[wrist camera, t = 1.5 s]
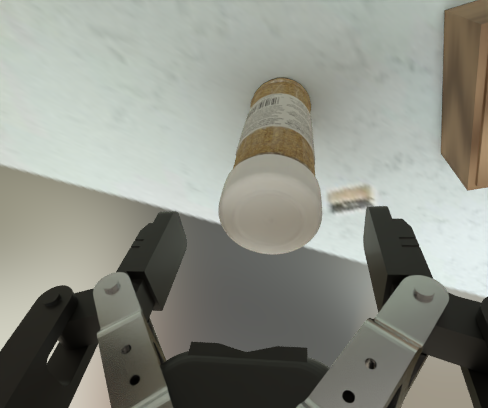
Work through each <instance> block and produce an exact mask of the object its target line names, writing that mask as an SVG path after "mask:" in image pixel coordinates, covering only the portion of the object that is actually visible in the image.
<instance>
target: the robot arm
mask: <svg viewBox="0 0 488 408" xmlns="http://www.w3.org/2000/svg"><path fill="white" fill-rule="evenodd" d="M363 241H364V251H365V255H366V260H367V264H368V268H369V273H370V278H371V282H372V286H373V291H374V295H375V300H376V304H377V309H378V314H377V316H376V317H375V318H374V319H371V318H369V319H367V320H366V321H365V322H364V324H363V325H362V326H361V328H360V329H359V330H358V332H357V333H356V334H355V336H354V337H353V338H352V340H351V341H350V342H349V343H348V345H347V346H346V347H345V349H344V350H343V352H342V353H341V354H340V355H339V357H338V358H337V360H336V361H335V362H334V363H333V365H332V366H331V367H330V368H329V367H328V366H326V365H324V364H323V363H321V362H319V361H317V360H315V359H312V358H309V357H307V348H300V347H280V346H278V347H272V348H266V349H262V350H256V351H251V352H244V351H240V350H237V349H234V348H231V347H228V346H225V345H222V344H219V343H203V342H191V345H190V349H189V351H187V352H184V353H181V354H178V355H176V356H174V357H172V358H170V359H169V360H166V358H165V356H164V353H163V351H162V348H161V346H160V343H159V340H158V337H157V335H156V333H155V330H154V327H153V324H152V322H151V319H150V314H151V312H152V310H155V311H162V310H163V307H164V305H165V302H166V300H167V297H168V295H169V292H170V290H171V287H172V284H173V282H174V279H175V277H176V274H177V272H178V269H179V267H180V264H181V261H182V259H183V256H184V254H185V251H186V247H187V239H186V235H185V232H184V229H183V226H182V223H181V220H180V217H179V214H178V212H176V211H174V212H160V213H158V215H157V217H156V219H155V220H154V222H153V223H149V224H148V225H147V226H145V227H144V228H143V229H142V230H141V231H140V232H139V234H138V236H137V237H136V239H135V241H134V242H133V244H132V246H131V248H130V250H129V251H128V253H127V255H126V256H125V258H124V259H123V261H122V263H121V265H120V267H119V268H118V270H117V271H116V273H112V274H109V275H107V276H105V277H104V278H102V279H101V280H100V281H99V282H98V283H97V284H96V285H95V287H94V289H90V290H86V291H82V292H79V293H73V291H72V289H71V288H70V287H68V286H63V285H62V286H57V287H54V288H51V289H50V290H48V291H46V292H45V293H43V294H42V295H41V296H40V297H39V298H38V299H37V300H36V302H35V303H34V305H33V306H32V307H31V309H30V310H29V312H28V313H27V314H26V316H25V317H24V319H23V320H22V322H21V323H20V324H19V326H18V327H17V329H16V330H15V331H14V333H13V334H12V336H11V337H10V339H9V340H8V341H7V343H6V344H5V346H4V347H3V348H2V350H1V351H0V408H68V407H69V405H70V403H71V401H72V399H73V397H74V394H75V392H76V390H77V388H78V386H79V384H80V382H81V379H82V377H83V375H84V373H85V371H86V368H87V366H88V364H89V362H90V360H91V358H92V356H93V354H94V351H95V349H96V347H97V345H98V343H99V348H100V353H101V358H102V363H103V368H104V373H105V378H106V383H107V388H108V393H109V398H110V403H111V408H401V406H402V404H403V401H404V399H405V397H406V395H407V393H408V391H409V389H410V388H411V386H412V384H413V382H414V381H415V379H416V377H417V375H418V373H419V371H420V370H421V368H422V366H423V364H424V363H425V361H426V359H427V357H428V355H430V356H433V357H436V358H439V359H442V360H445V361H448V362H451V363H454V364H457V365H460V366H461V370H462V373H463V376H464V379H465V382H466V385H467V388H468V391H469V394H470V397H471V400H472V403H473V406H474V408H488V297H486V298H485V299H484V300H483V301H482V303H480V302H476V301H472V300H469V299H465V298H461V297H458V296H455V295H453V294H450V293H448V292H447V290H446V288H445V287H444V286H443V285H442V284H441V283H439V282H438V281H436V280H434V279H433V277H432V275H431V272H430V270H429V268H428V265H427V263H426V260H425V258H424V256H423V253H422V251H421V249H420V247H419V244H418V241H417V239H416V237H415V234H414V232H413V230H412V227H411V226H410V225H408V224H407V223H406V222H405V221H404V220H403V219H392V217H391V214H390V212H389V209H388V207H387V206H375V207H367V209H366V216H365V226H364V237H363ZM57 340H58V341H59V343H58V345H57V347H56V349H55V351H54V353H53V354H52V356H51V358H50V359H49V361H48V363H47V358H48V356H49V354H50V352H51V351H52V349H53V347H54V345H55V344H56V342H57ZM46 364H47V365H46Z"/></svg>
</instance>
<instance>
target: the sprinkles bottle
mask: <svg viewBox="0 0 488 408" xmlns="http://www.w3.org/2000/svg"><path fill="white" fill-rule="evenodd" d="M310 111H311V103H310V98H309V95H308V93H307V91H306V90H305V89H304V88H303V87H302V85H301V84H299V83H297V82H295V81H293V80H290V79H285V78H277V79H273V80H270V81H268V82H266V83H264V84H263V85H261V86H260V88H258V90H257V91H256V92H255V94H254V97H253V99H252V101H251V108H250V111H249V113H248V116H247V119H246V122H245V125H244V128H243V131H242V135H241V138H240V141H239V144H238V148H237V152H236V160H235V164H234V167H233V170H232V171H231V172H230V173H229V175H228V177H227V179H226V181H225V184H224V187H223V191H222V194H221V198H220V202H219V219H220V222H221V225H222V227H223V228H224V230H225V232H226V233H227V234H228V235H229V237H230V238H231V239H232V240H233V241H234V242H236V243H237V244H239V245H240V246H242V247H244V248H246V249H249V250H251V251H254V252H258V253H264V254H282V253H287V252H290V251H294V250H296V249H299V248H301V247H302V246H304V245H305V244H307V243H308V242H309V241H310V240H311V239H312V238H313V237H314V236H315V234H316V233H317V231H318V229H319V227H320V224H321V220H322V201H321V191H320V187H319V184H318V181H317V179H316V177H315V168H314V165H315V156H314V144H313V134H312V121H311V116H310Z"/></svg>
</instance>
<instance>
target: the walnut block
mask: <svg viewBox="0 0 488 408" xmlns="http://www.w3.org/2000/svg"><path fill="white" fill-rule="evenodd" d="M441 154H442V156H443V157H444V158H445V160H446V161H447V163H448V164H449V165H450V167H451V168H452V170H453V171H454V172H455V174H456V175H457V177H458V178H459V179H460V181H461V182H462V184H463V185H464V186H465V188H466V189H467V191H468V190H474V189H480V188H486V187H488V0H477V1H474V2H471V3H468V4H464V5H461V6H458V7H454V8H451V9H448V10H445V18H444V56H443V95H442V134H441Z"/></svg>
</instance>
